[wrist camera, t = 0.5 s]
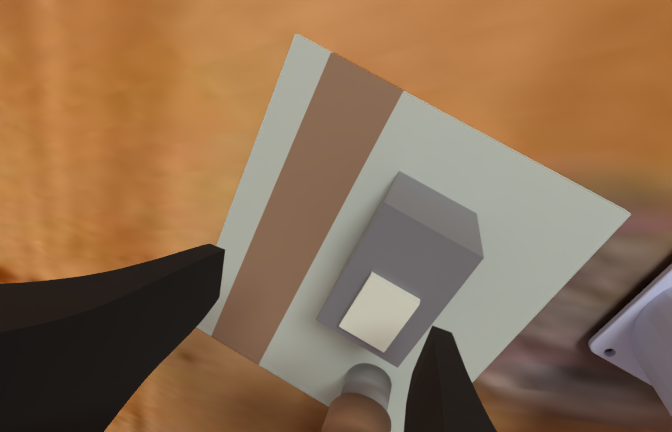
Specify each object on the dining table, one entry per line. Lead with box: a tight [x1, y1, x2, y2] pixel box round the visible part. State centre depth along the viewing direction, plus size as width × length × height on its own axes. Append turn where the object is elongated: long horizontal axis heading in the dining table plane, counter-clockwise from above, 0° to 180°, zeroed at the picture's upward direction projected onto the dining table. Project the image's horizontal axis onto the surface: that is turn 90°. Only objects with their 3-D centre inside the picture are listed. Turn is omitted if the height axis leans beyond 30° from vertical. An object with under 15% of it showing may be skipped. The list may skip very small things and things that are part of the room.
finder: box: [316, 171, 484, 368], centre depth 19 cm, size 4×7×5 cm, turn 154°
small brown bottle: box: [321, 363, 392, 432], centre depth 23 cm, size 4×4×7 cm
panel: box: [196, 34, 631, 432], centre depth 24 cm, size 18×21×1 cm
